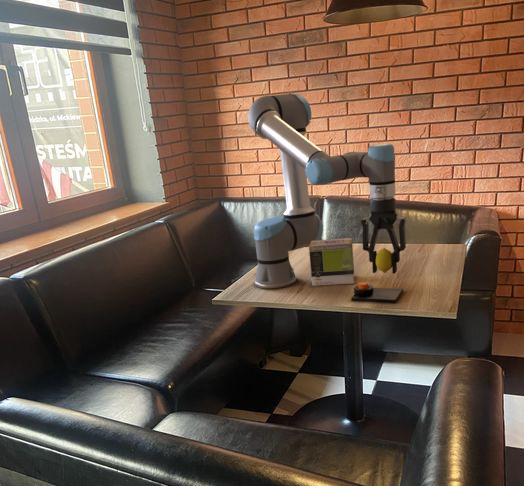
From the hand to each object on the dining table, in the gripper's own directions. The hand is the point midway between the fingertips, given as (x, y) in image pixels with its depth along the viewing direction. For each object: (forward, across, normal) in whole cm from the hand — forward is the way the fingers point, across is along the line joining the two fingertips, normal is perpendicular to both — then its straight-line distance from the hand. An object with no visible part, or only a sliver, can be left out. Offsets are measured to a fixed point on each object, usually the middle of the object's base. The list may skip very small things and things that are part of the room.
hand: (384, 271), depth 169 cm
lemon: (+1, 0, 0) cm, 1 cm away
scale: (+8, -3, 0) cm, 9 cm away
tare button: (+6, -7, 0) cm, 9 cm away
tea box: (+9, -22, +14) cm, 28 cm away
